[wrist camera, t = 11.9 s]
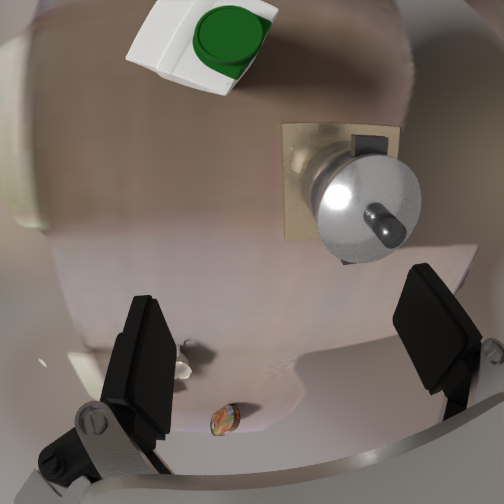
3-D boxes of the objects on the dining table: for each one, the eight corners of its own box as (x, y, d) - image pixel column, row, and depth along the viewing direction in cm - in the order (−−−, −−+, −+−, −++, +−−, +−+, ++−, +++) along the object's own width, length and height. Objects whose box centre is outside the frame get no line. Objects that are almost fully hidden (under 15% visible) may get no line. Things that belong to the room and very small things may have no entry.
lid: (316, 152, 27) (338, 171, 22) (423, 155, 27) (455, 173, 22) (312, 263, 35) (326, 297, 29) (405, 252, 35) (427, 279, 30)
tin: (232, 400, 74) (233, 425, 67) (241, 402, 75) (243, 426, 68) (209, 416, 80) (209, 438, 73) (217, 417, 81) (218, 439, 74)
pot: (280, 123, 34) (298, 135, 26) (397, 126, 34) (437, 142, 26) (284, 238, 44) (297, 278, 36) (384, 229, 44) (412, 262, 36)
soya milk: (229, 98, 31) (229, 109, 15) (165, 72, 28) (99, 63, 12) (261, 43, 27) (299, -2, 11) (197, 16, 24) (166, -48, 8)
